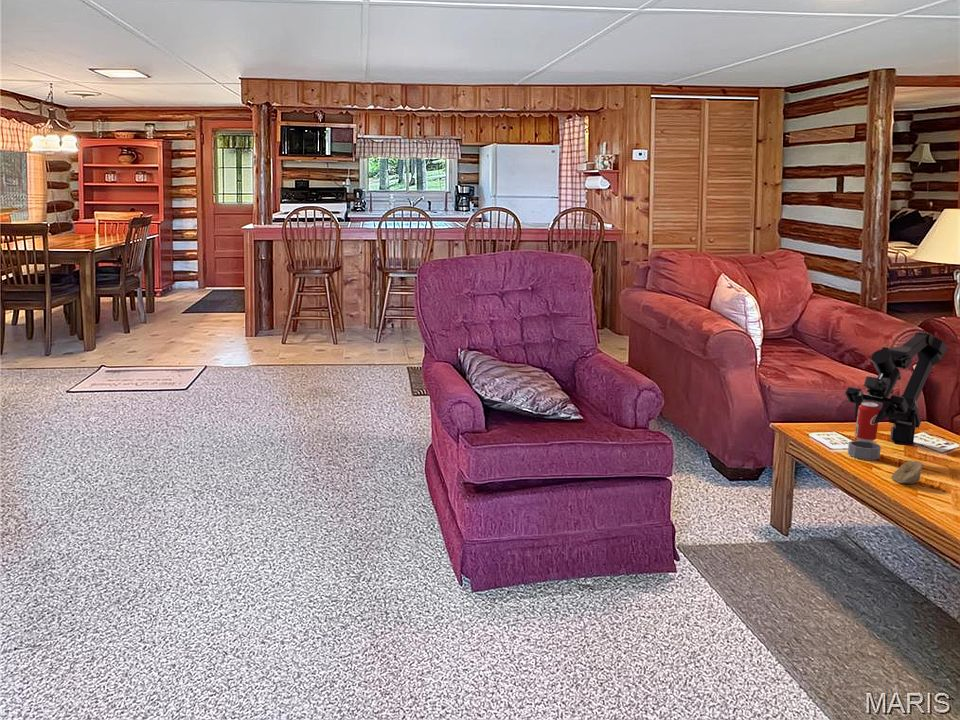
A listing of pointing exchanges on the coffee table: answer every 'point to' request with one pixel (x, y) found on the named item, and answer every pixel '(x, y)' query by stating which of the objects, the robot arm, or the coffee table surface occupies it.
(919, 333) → the robot arm
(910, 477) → the fossil
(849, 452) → the can holder
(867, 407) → the beverage can
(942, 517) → the coffee table surface
